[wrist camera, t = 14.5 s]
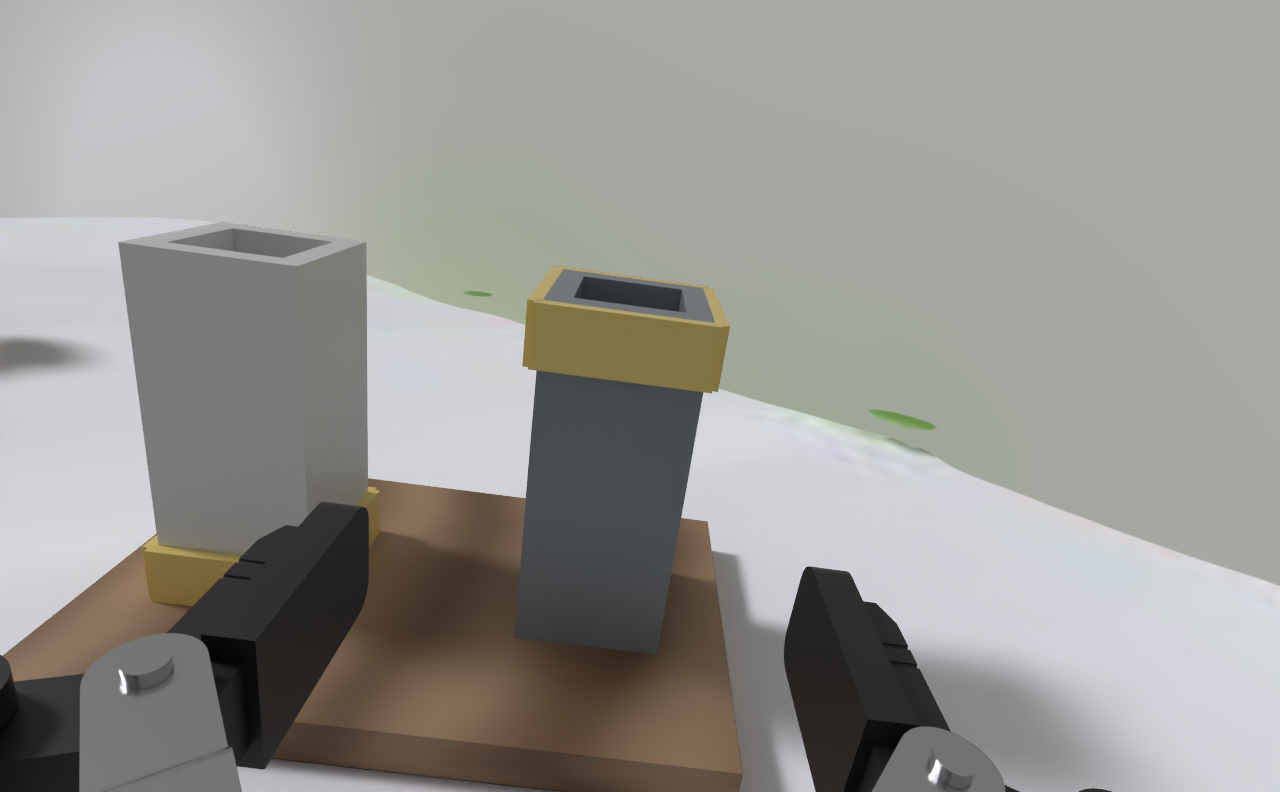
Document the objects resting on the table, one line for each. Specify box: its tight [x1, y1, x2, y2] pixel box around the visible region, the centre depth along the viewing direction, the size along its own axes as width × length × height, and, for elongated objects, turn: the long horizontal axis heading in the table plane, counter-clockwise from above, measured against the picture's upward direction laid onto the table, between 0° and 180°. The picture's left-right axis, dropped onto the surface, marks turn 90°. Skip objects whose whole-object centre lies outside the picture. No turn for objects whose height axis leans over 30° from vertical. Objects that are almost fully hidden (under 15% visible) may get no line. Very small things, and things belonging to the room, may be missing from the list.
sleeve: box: [514, 266, 730, 655], centre depth 24 cm, size 6×6×12 cm
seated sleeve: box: [118, 222, 380, 606], centre depth 24 cm, size 6×6×12 cm
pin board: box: [3, 479, 743, 792], centre depth 26 cm, size 22×14×6 cm, turn 89°
